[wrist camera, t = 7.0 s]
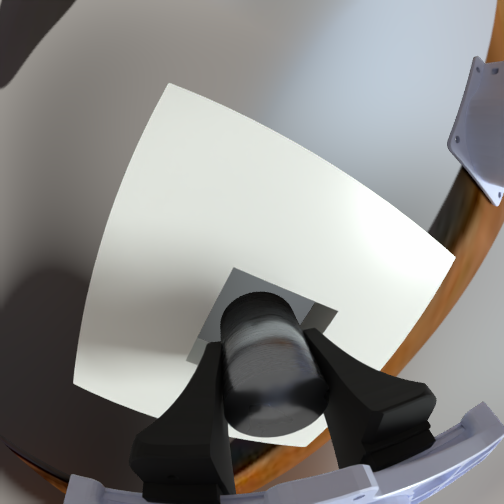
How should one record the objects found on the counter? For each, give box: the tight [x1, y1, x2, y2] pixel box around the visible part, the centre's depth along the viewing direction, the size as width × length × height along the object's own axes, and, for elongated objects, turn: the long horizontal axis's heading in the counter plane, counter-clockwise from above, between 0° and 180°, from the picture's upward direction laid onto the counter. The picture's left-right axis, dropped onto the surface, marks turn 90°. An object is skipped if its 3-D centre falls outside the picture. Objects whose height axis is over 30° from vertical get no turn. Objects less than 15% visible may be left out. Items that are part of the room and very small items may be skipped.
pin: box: [220, 292, 330, 438], centre depth 12 cm, size 4×4×6 cm
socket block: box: [73, 83, 456, 447], centre depth 15 cm, size 18×18×2 cm
